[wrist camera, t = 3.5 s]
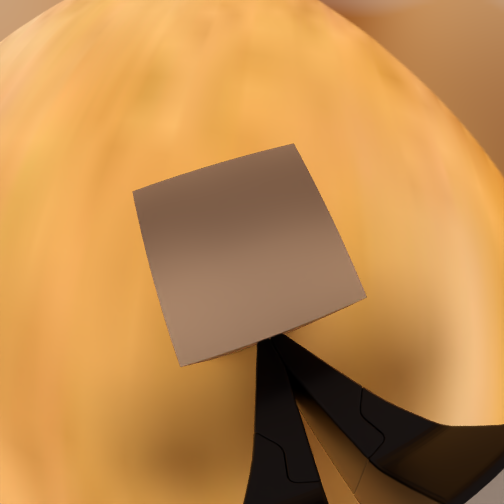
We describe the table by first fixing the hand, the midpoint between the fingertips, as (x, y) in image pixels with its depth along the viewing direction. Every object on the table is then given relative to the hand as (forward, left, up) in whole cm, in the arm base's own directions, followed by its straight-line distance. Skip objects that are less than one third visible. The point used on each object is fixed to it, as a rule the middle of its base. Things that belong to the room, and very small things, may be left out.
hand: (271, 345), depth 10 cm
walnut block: (+2, -1, -8) cm, 8 cm away
